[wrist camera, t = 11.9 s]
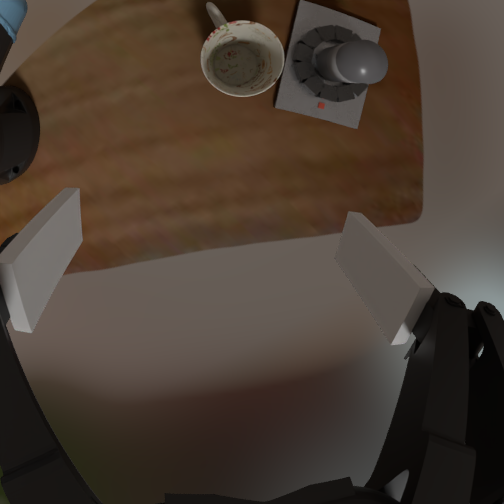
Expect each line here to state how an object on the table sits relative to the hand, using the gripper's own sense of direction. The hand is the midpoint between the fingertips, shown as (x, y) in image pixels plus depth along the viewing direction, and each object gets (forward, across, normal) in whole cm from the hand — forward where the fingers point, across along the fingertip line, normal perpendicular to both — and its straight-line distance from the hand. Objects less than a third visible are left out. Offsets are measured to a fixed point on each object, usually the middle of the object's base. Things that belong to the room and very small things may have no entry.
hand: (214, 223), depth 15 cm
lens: (+28, +15, +12) cm, 34 cm away
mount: (+29, +15, +12) cm, 35 cm away
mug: (+29, +1, +11) cm, 32 cm away
